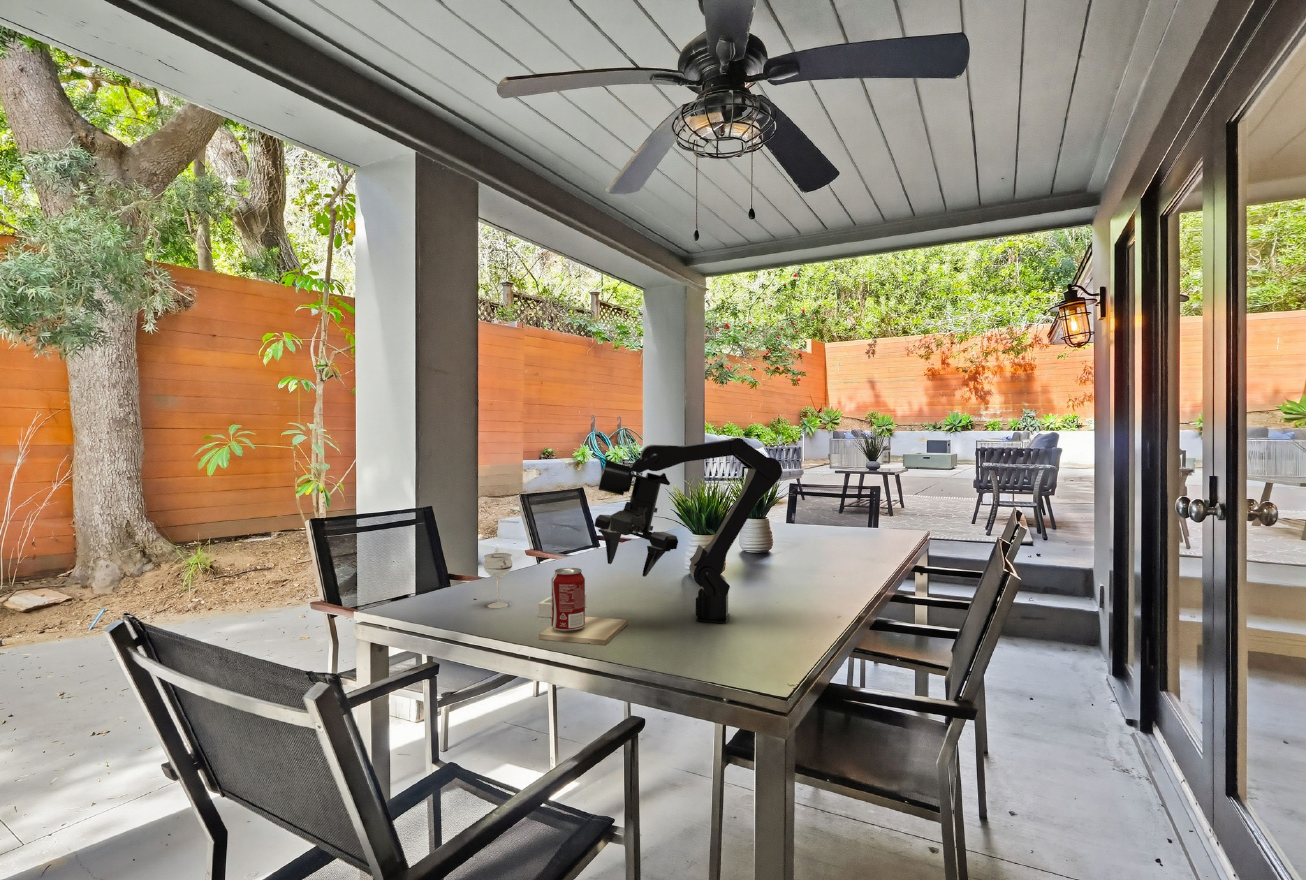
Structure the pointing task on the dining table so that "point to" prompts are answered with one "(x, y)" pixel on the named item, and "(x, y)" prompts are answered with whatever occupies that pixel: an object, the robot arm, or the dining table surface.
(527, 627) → the dining table surface
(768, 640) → the dining table surface
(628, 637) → the dining table surface
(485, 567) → the wineglass
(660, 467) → the robot arm
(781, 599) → the dining table surface
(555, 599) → the soda can
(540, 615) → the block
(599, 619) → the pad
